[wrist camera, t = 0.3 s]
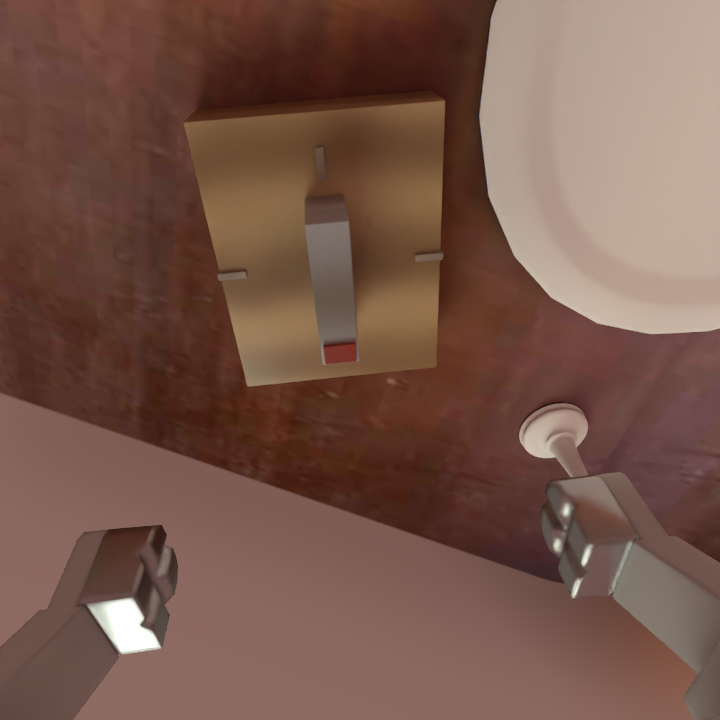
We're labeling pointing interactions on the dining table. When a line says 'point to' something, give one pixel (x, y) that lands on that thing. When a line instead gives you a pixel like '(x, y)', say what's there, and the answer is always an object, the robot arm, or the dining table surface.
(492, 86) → the plate
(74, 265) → the dining table surface
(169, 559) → the robot arm
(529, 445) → the chess piece
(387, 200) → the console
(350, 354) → the red-tipped grey block
